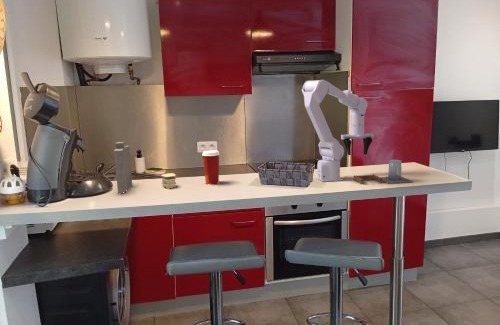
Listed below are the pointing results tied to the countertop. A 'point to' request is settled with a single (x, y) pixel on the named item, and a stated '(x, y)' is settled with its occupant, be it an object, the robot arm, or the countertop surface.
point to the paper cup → (211, 166)
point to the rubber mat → (403, 180)
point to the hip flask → (122, 167)
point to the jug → (394, 170)
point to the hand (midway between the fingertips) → (357, 154)
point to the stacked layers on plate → (168, 180)
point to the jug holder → (367, 178)
